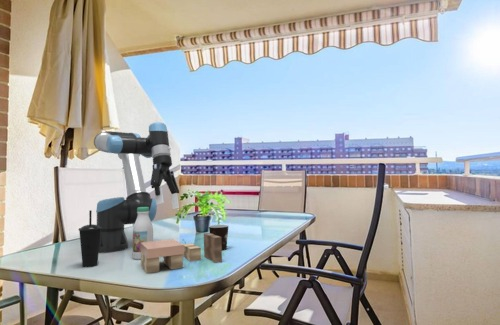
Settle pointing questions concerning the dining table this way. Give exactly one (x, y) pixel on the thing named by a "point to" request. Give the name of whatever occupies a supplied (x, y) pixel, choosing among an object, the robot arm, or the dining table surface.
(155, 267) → the batten rear
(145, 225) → the milk bottle
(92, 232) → the drinking cup
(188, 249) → the batten
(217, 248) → the brown wooden board
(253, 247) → the dining table surface
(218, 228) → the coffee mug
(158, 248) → the slab
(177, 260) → the block
